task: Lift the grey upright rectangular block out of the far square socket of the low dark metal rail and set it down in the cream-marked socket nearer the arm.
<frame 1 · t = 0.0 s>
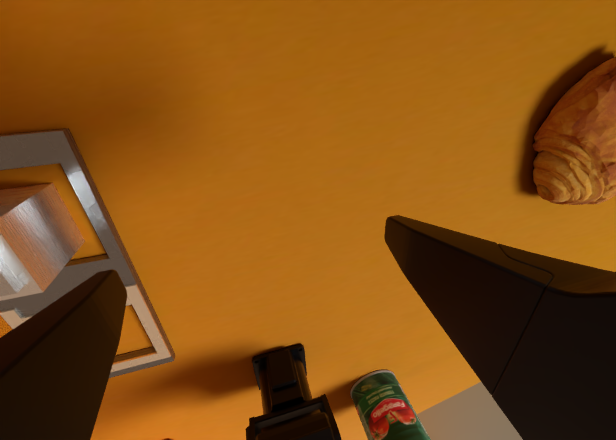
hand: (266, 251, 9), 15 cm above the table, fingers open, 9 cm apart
canned tomato: (372, 384, 44), on the table
rail: (70, 281, 23), on the table
croissant: (579, 127, 31), on the table
grey upright rectangular block: (31, 219, 20), resting in rail
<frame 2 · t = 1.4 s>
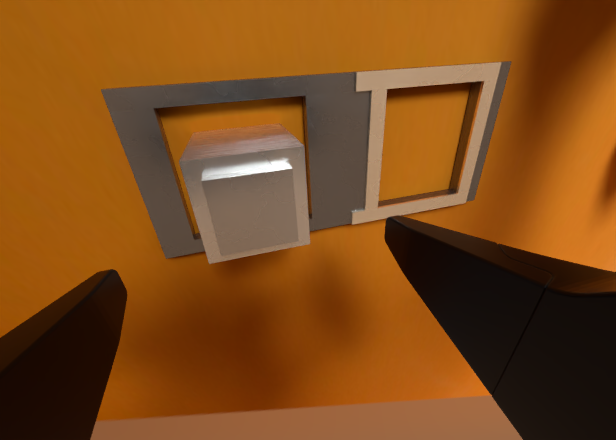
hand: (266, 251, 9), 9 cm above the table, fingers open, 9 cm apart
rail: (334, 156, 18), on the table
grey upright rectangular block: (245, 168, 17), resting in rail
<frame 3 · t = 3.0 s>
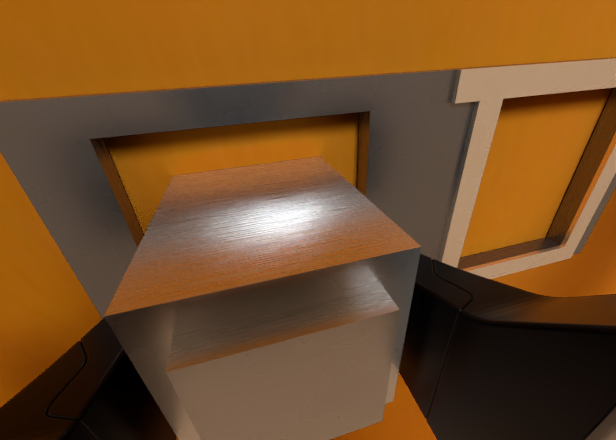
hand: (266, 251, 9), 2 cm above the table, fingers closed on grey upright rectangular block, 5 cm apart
rail: (398, 203, 12), on the table
grey upright rectangular block: (260, 227, 11), resting in rail, touching gripper
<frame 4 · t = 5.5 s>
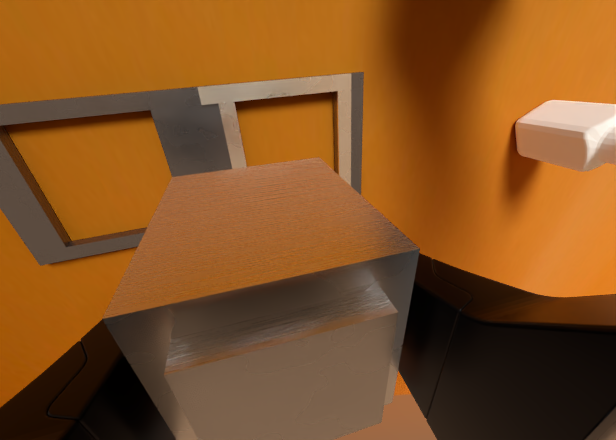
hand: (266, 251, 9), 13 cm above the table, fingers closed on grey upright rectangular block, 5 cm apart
pepper shaker: (528, 127, 26), on the table
rail: (202, 165, 19), on the table
grey upright rectangular block: (259, 228, 11), point 11 cm above the table, touching gripper
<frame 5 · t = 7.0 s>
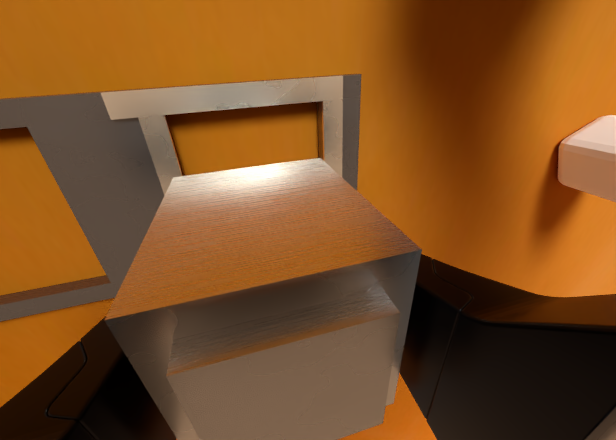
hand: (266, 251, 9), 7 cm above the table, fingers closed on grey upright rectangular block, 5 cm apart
pepper shaker: (574, 149, 20), on the table
rail: (128, 202, 14), on the table
grey upright rectangular block: (260, 229, 11), point 5 cm above the table, touching gripper
when the fingers open (3 cm above the table, at t = 8.1 s): grey upright rectangular block drops 2 cm, resting in rail.
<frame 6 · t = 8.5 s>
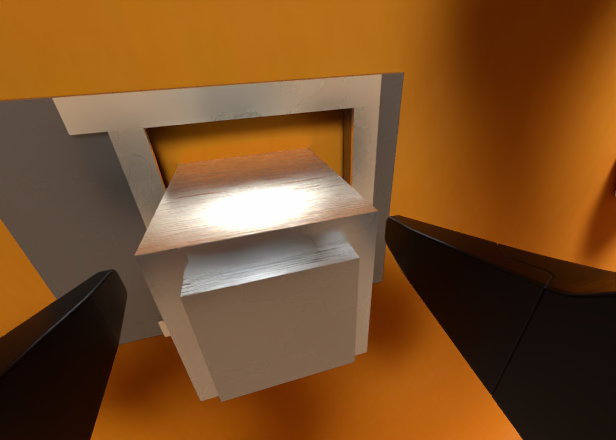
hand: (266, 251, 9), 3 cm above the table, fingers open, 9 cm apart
rail: (102, 237, 11), on the table
grey upright rectangular block: (256, 211, 12), resting in rail
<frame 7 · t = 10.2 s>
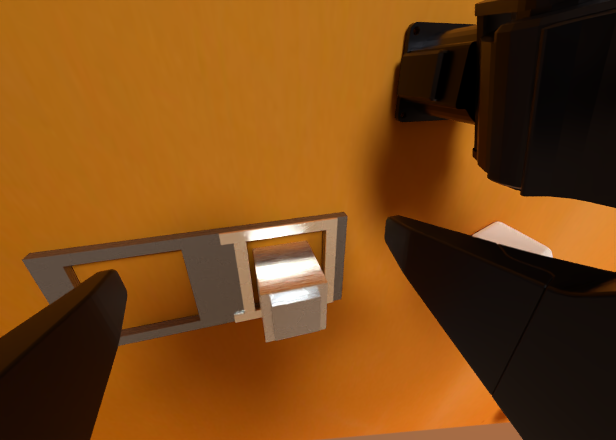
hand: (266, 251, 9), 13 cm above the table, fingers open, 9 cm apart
pepper shaker: (482, 237, 32), on the table
rail: (216, 277, 25), on the table
grey upright rectangular block: (281, 266, 26), resting in rail
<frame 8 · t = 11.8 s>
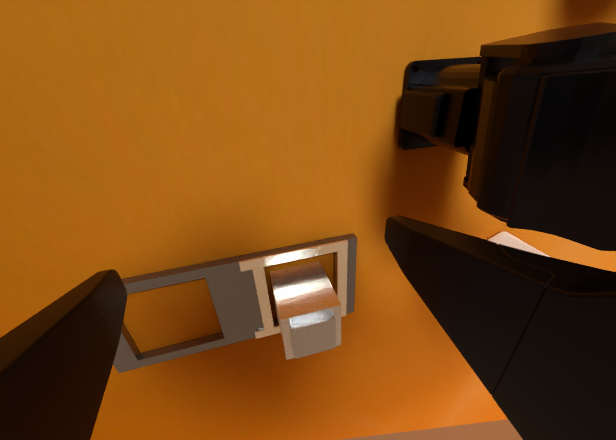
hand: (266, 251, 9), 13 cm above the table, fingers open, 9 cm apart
pepper shaker: (488, 246, 33), on the table
rail: (237, 299, 26), on the table
grey upright rectangular block: (296, 285, 28), resting in rail
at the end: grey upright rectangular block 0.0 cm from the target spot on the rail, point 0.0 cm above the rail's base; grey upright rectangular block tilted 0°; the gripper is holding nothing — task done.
